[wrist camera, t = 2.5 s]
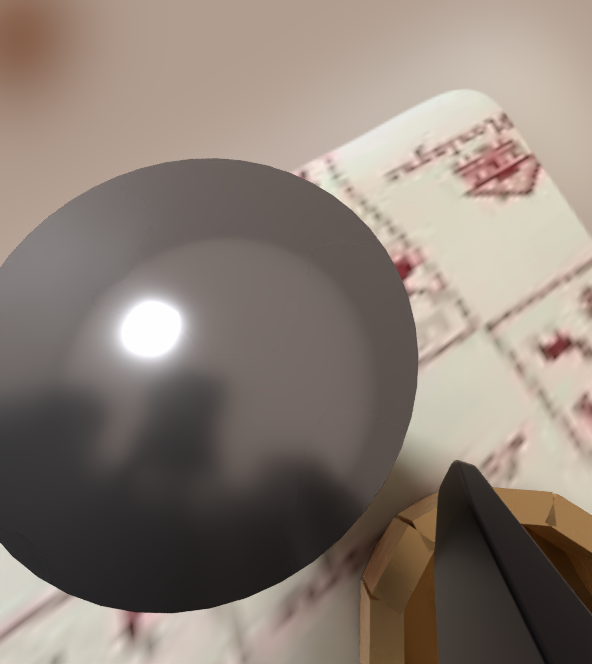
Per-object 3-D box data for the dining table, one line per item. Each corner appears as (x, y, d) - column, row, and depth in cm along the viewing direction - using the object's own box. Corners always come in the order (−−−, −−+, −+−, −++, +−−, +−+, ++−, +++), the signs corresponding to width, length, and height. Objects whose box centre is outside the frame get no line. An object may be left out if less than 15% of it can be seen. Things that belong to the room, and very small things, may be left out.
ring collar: (692, 707, 13) (791, 768, 10) (451, 867, 12) (491, 981, 9) (519, 445, 16) (561, 439, 13) (314, 556, 15) (315, 573, 12)
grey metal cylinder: (366, 471, 16) (534, 457, 4) (247, 533, 15) (-7, 754, 3) (308, 359, 18) (296, 98, 5) (199, 411, 17) (-88, 251, 5)
